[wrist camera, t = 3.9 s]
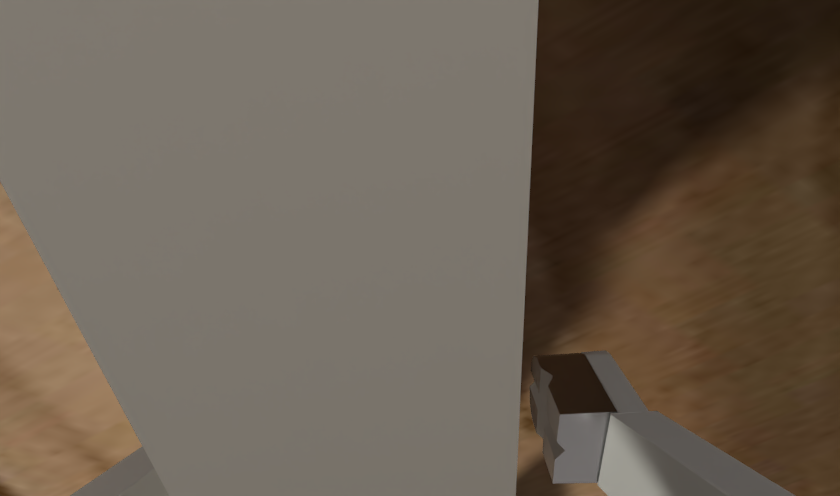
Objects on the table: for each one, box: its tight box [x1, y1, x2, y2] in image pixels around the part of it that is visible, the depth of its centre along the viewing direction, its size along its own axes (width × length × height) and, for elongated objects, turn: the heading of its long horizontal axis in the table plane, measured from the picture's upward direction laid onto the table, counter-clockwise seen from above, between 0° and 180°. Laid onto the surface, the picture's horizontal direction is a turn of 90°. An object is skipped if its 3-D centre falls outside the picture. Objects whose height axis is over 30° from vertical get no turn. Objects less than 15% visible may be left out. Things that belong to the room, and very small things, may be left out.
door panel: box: [0, 0, 539, 496], centre depth 8 cm, size 14×2×8 cm, turn 4°
